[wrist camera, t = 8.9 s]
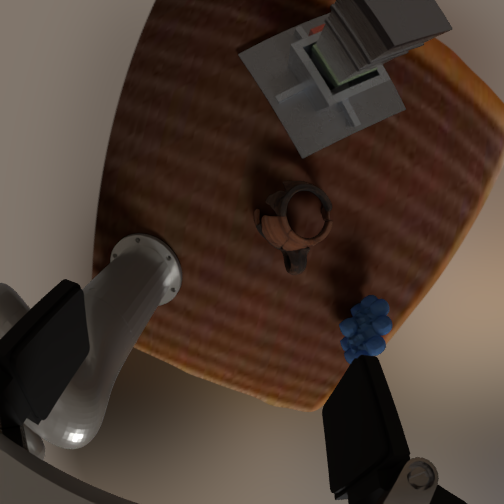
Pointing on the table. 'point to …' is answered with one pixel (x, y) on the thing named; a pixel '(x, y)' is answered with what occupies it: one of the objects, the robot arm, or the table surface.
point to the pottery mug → (281, 232)
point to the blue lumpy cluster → (366, 328)
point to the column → (372, 35)
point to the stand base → (316, 90)
